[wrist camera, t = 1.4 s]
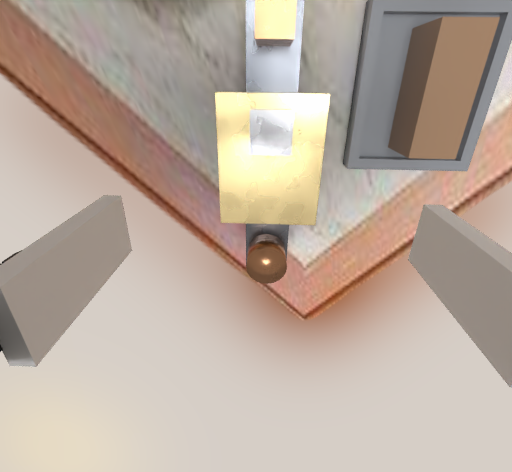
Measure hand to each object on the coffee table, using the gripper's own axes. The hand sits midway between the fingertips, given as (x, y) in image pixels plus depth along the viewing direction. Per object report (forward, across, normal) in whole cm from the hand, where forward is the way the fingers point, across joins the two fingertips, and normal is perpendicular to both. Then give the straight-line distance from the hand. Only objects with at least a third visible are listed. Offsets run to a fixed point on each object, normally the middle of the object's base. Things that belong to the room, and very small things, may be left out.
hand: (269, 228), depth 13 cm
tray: (+20, +14, +5) cm, 25 cm away
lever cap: (+14, 0, 0) cm, 14 cm away
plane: (+20, 0, 0) cm, 21 cm away
